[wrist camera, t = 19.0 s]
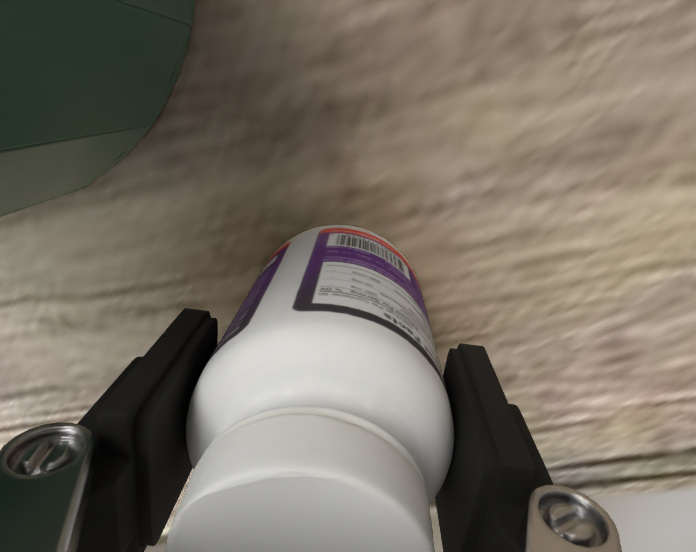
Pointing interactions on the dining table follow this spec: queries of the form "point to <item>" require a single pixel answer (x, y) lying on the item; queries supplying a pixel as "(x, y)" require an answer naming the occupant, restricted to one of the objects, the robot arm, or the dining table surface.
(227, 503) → the pill bottle
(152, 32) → the tin
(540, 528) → the robot arm
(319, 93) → the dining table surface
